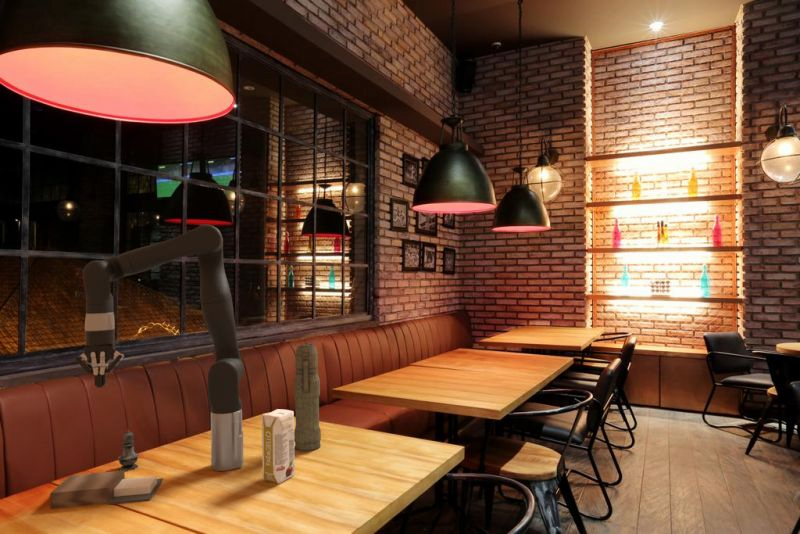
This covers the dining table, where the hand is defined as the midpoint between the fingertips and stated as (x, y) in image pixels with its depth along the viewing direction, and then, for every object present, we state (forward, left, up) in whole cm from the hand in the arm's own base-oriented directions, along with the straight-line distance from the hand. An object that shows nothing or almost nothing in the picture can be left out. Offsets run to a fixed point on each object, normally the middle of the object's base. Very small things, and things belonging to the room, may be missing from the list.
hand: (100, 387), depth 151 cm
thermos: (-60, -13, -27) cm, 67 cm away
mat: (-13, +12, -27) cm, 32 cm away
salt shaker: (-5, -8, -27) cm, 29 cm away
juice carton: (-51, +12, -27) cm, 59 cm away
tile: (-13, +12, -26) cm, 32 cm away
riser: (-1, +12, -27) cm, 30 cm away
